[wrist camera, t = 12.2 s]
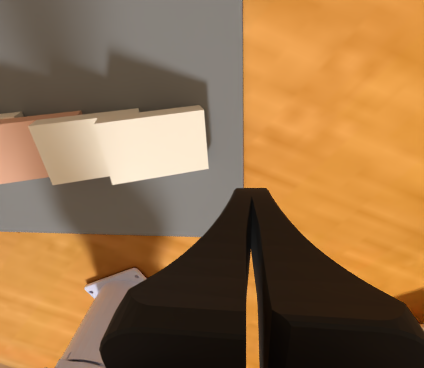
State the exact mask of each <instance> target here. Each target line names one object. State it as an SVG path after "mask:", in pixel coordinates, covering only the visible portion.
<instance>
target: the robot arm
mask: <svg viewBox="0 0 424 368" xmlns="http://www.w3.org/2000/svg"><path fill="white" fill-rule="evenodd" d="M250 252H252V260H253V268H254V276H255V284H256V292H257V302H258V327H259V360H260V368H424V330H423V329H422V327H421V326H420V324H419V323H418V321H417V320H416V318H415V317H414V316H413V314H412V313H411V312H410V310H409V309H408V307H407V306H406V304H404V303H403V302H401V301H399V300H397V299H395V298H394V297H392V296H390V295H388V294H386V293H384V292H383V291H381V290H379V289H377V288H375V287H373V286H372V285H370V284H368V283H366V282H365V281H363V280H362V279H360V278H358V277H357V276H355V275H354V274H352V273H351V272H349V271H347V270H346V269H344V268H343V267H342V266H340V265H339V264H337V263H336V262H334V261H333V260H332V259H331V258H329V257H328V256H327V255H325V254H324V253H323V252H321V251H320V250H319V249H318V248H316V247H315V246H314V245H313V244H312V243H311V242H310V241H309V240H307V239H306V238H305V237H304V236H303V235H302V234H301V233H300V232H299V231H298V229H297V228H296V227H295V226H294V225H293V224H292V223H291V222H290V221H289V219H288V218H287V217H286V216H285V214H284V213H283V212H282V211H281V209H280V208H279V207H278V205H277V204H276V202H275V201H274V199H273V198H272V196H271V194H270V193H269V191H268V190H267V189H266V188H236V189H235V190H234V191H233V194H232V196H231V198H230V200H229V202H228V203H227V205H226V207H225V208H224V210H223V211H222V213H221V214H220V216H219V217H218V218H217V220H216V221H215V222H214V223H213V225H212V226H211V227H210V228H209V229H208V231H207V232H206V233H205V234H204V235H203V236H202V237H201V238H200V239H199V240H198V241H197V242H196V243H195V244H194V245H193V246H192V247H191V248H190V249H188V250H187V251H186V252H185V253H184V254H183V255H181V256H180V257H179V258H178V259H176V260H175V261H174V262H172V263H171V264H169V265H168V266H167V267H165V268H164V269H162V270H161V271H159V272H157V273H156V274H154V275H153V276H151V277H149V278H146V277H145V276H144V275H143V274H142V273H141V272H140V271H139V270H138V269H137V268H131V269H129V270H126V271H123V272H120V273H117V274H115V275H112V276H109V277H106V278H104V279H101V280H98V281H95V282H92V283H90V284H87V285H86V286H85V290H86V291H87V292H88V293H89V294H90V295H91V296H92V297H93V298H94V301H93V303H92V305H91V307H90V308H89V310H88V312H87V314H86V315H85V317H84V319H83V321H82V322H81V324H80V326H79V328H78V329H77V331H76V333H75V335H74V336H73V338H72V340H71V342H70V343H69V345H68V347H67V349H66V350H65V352H64V354H63V356H62V357H61V359H59V361H58V363H57V364H56V366H55V368H246V296H247V284H248V274H249V263H250ZM45 368H47V367H45Z"/></svg>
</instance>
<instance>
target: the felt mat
mask: <svg viewBox="0 0 424 368" xmlns="http://www.w3.org/2000/svg"><path fill="white" fill-rule="evenodd" d="M195 105H200V106H201V107H202V108H203V109H204V117H205V130H206V142H207V154H208V166H209V169H204V170H199V171H193V172H187V173H181V174H175V175H169V176H163V177H157V178H151V179H145V180H139V181H133V182H128V183H122V184H116V185H112V182H111V179H110V176H108V177H102V178H95V179H89V180H83V181H77V182H70V183H64V184H58V185H52V182H51V180H50V178H49V177H46V178H39V179H33V180H26V181H19V182H12V183H6V184H0V231H3V232H39V233H75V234H112V235H148V236H185V237H202V236H203V235H204V234H205V233H206V232H207V231H208V229H209V228H210V227H211V226H212V225H213V223H214V222H215V221H216V220H217V218H218V217H219V216H220V214H221V213H222V211H223V210H224V208H225V207H226V205H227V203H228V202H229V200H230V198H231V196H232V194H233V191H234V190H235V189H236V188H243V15H242V0H0V114H4V113H13V112H22V113H23V116H24V117H27V116H36V115H45V114H54V113H63V112H72V111H82V114H92V113H100V112H109V111H117V110H126V109H134V108H139V112H146V111H154V110H162V109H170V108H178V107H186V106H195Z"/></svg>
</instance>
